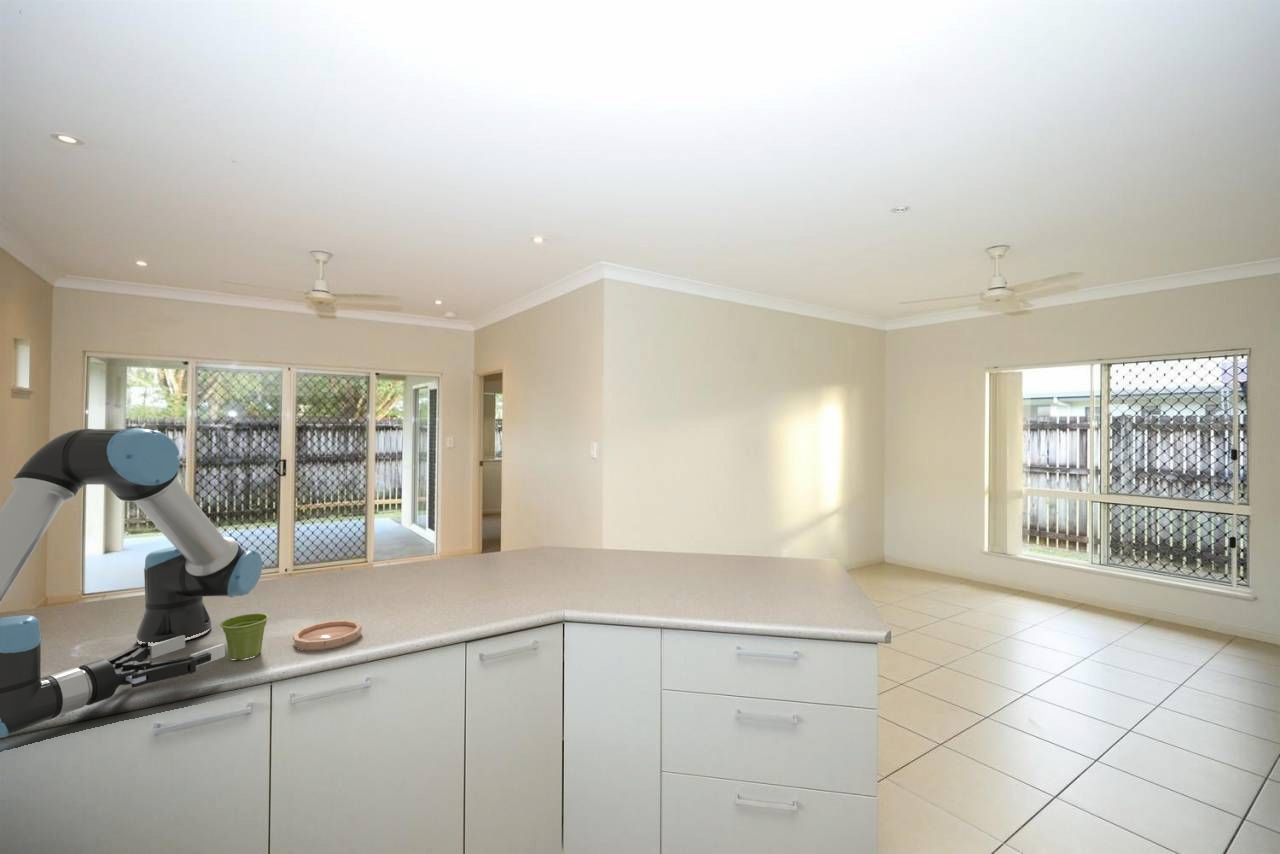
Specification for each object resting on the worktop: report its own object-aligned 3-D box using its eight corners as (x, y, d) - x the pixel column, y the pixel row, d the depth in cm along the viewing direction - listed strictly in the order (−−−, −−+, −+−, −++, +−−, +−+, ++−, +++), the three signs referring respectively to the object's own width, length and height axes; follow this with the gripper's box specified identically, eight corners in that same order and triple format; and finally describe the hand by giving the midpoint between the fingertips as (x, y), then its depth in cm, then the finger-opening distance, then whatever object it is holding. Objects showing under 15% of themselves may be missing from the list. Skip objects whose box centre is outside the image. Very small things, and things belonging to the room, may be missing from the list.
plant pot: (229, 668, 129) (228, 630, 129) (214, 657, 135) (214, 621, 135) (275, 654, 137) (275, 618, 137) (259, 645, 143) (259, 610, 143)
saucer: (279, 645, 142) (279, 636, 142) (332, 625, 156) (332, 617, 156) (323, 654, 137) (323, 645, 137) (373, 633, 151) (373, 624, 151)
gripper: (45, 694, 112) (168, 653, 132) (121, 719, 103) (241, 671, 123) (45, 656, 112) (168, 621, 132) (120, 677, 103) (240, 636, 123)
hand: (203, 645), depth 127 cm, fingers open, 13 cm apart
